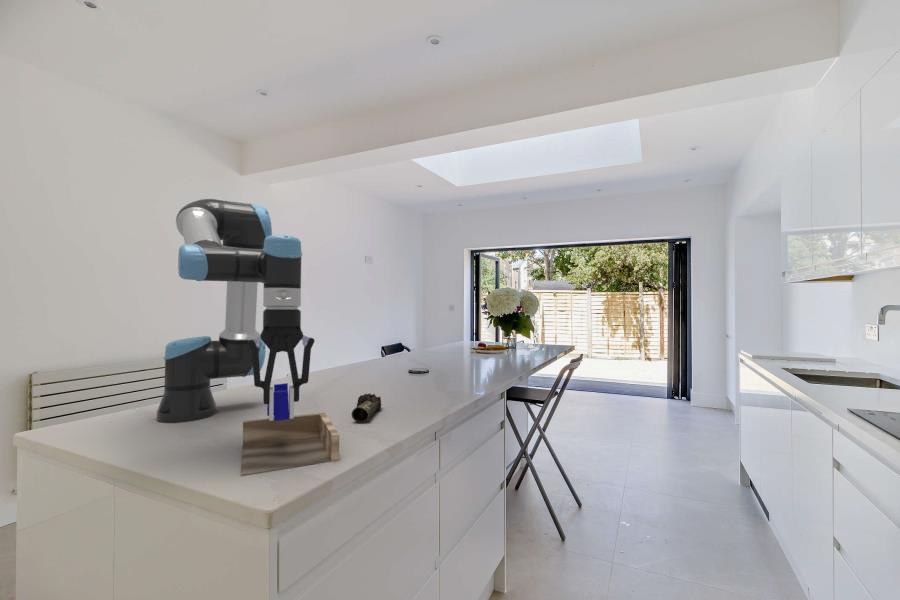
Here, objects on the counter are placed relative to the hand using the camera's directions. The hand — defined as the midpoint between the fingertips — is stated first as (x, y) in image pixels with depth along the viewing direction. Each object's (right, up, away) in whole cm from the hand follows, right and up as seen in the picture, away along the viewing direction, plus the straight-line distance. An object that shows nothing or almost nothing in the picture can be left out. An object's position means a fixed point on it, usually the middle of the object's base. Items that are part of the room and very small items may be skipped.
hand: (281, 417), depth 91 cm
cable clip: (-3, -1, +5) cm, 6 cm away
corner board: (0, -9, +3) cm, 10 cm away
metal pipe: (+11, -12, +29) cm, 33 cm away
